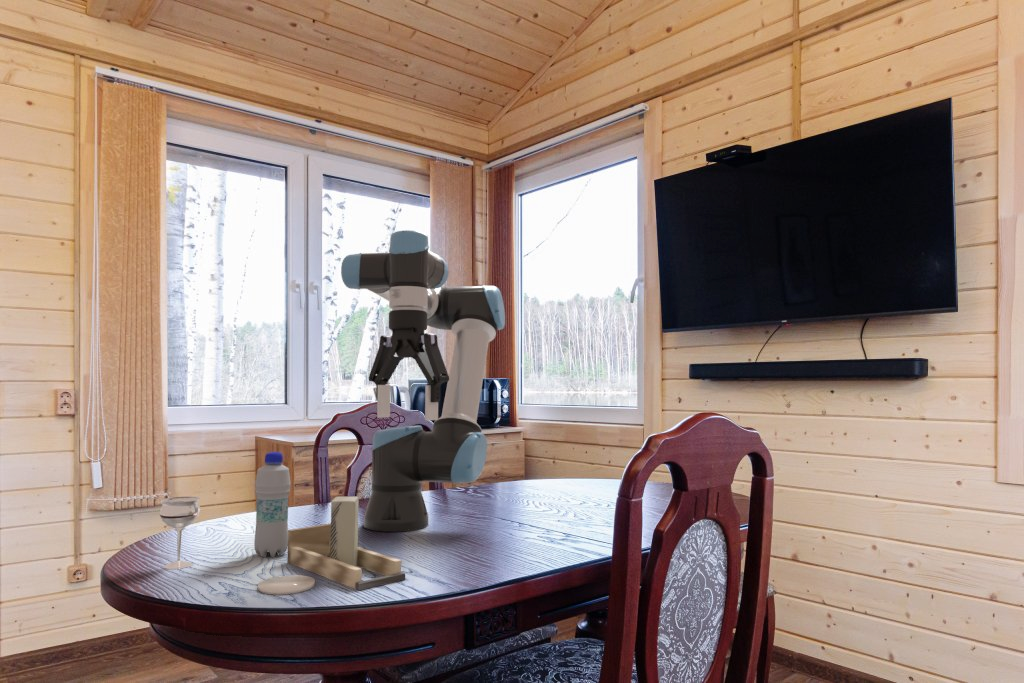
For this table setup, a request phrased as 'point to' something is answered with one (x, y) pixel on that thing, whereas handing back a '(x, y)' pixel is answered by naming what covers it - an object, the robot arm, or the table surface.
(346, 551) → the box
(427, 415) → the robot arm
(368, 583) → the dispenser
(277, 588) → the coaster
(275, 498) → the bottle
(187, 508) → the wineglass
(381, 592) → the table surface
